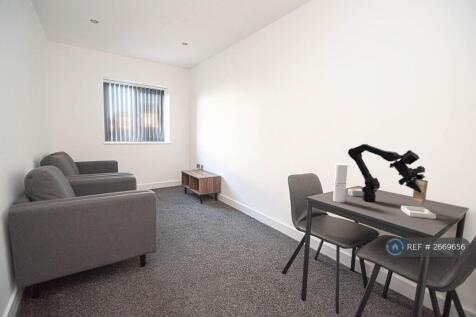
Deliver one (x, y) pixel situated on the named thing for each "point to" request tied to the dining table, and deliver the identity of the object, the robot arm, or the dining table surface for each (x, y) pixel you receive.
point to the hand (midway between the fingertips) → (422, 191)
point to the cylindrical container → (340, 182)
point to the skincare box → (355, 192)
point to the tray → (418, 212)
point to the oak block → (421, 196)
